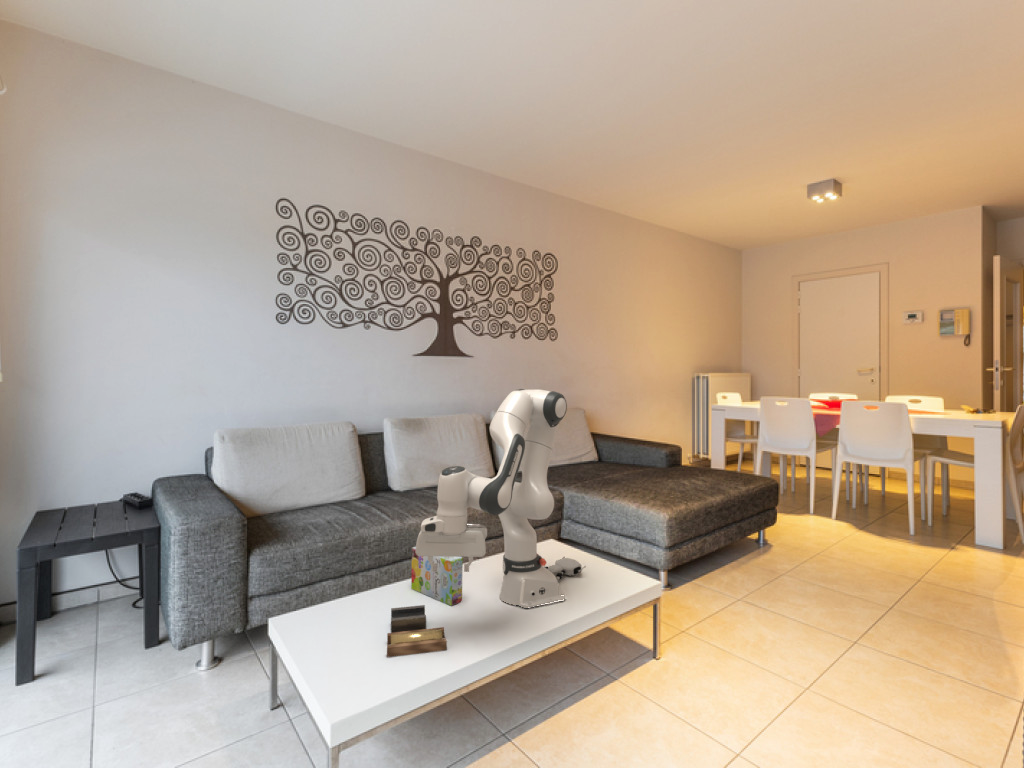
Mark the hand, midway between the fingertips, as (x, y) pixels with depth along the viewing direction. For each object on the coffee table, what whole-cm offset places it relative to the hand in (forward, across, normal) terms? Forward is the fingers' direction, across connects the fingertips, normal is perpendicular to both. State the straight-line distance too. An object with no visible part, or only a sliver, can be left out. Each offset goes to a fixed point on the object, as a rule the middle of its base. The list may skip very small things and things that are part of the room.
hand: (450, 571), depth 147 cm
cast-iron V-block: (+19, +12, -5) cm, 23 cm away
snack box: (+19, +6, -28) cm, 35 cm away
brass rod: (+20, +8, +4) cm, 22 cm away
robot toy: (+17, -40, -43) cm, 61 cm away
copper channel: (+19, +9, +4) cm, 22 cm away
